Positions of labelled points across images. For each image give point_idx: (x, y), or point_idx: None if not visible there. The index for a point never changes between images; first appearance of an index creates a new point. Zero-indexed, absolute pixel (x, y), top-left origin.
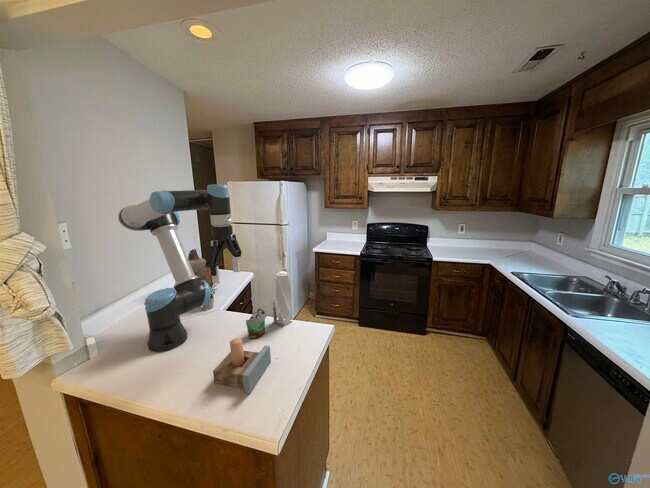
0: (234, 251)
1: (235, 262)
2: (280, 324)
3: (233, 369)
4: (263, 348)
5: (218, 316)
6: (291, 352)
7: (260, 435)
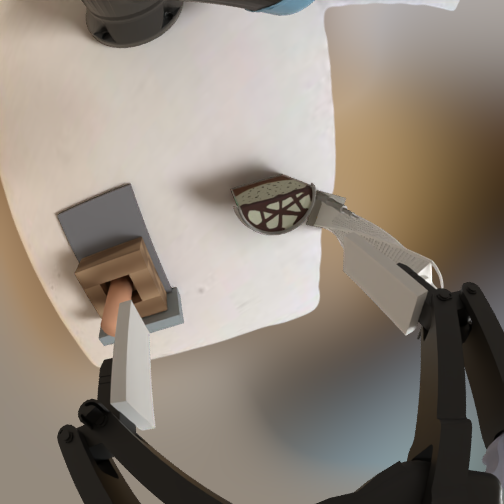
0: (420, 388)
1: (385, 293)
2: (313, 214)
3: (101, 302)
4: (170, 319)
5: (295, 23)
6: (228, 300)
7: (88, 357)
